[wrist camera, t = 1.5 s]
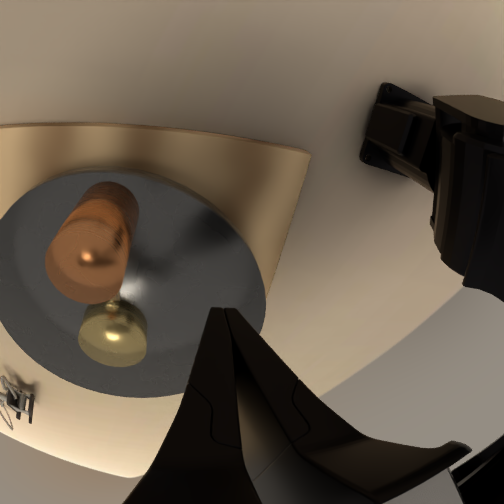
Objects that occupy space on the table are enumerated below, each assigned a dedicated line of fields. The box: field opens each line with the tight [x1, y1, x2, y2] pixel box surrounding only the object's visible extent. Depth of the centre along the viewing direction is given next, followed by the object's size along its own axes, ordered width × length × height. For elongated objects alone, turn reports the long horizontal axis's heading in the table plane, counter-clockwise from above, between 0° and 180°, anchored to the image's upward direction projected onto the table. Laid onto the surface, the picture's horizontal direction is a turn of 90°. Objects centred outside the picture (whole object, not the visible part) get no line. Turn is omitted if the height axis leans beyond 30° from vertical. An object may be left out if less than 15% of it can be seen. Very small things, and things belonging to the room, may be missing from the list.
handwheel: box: [0, 166, 266, 398], centre depth 16 cm, size 20×20×6 cm
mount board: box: [0, 123, 311, 298], centre depth 20 cm, size 23×23×4 cm
